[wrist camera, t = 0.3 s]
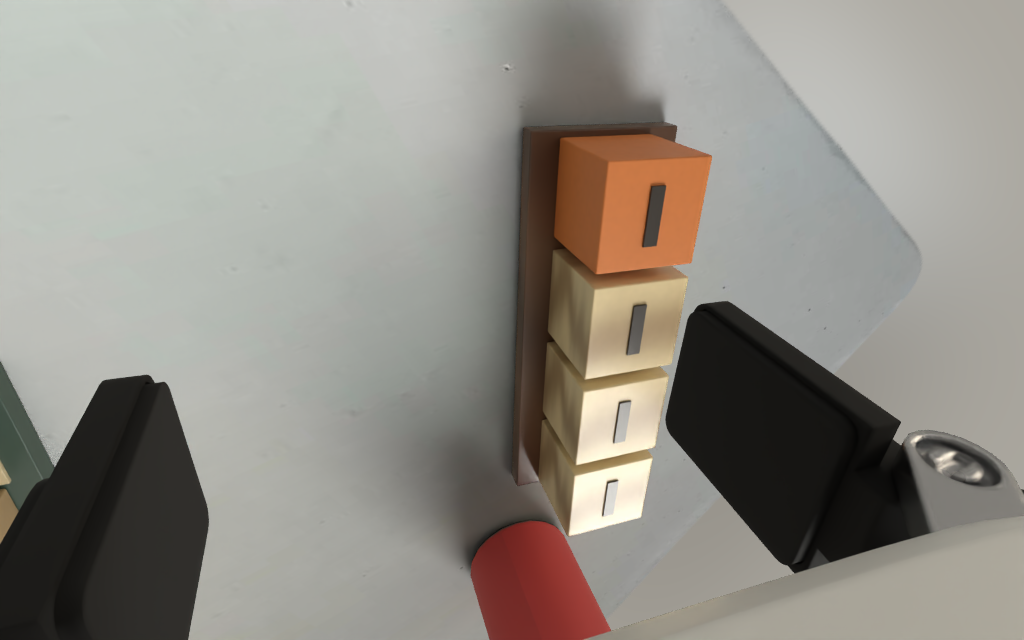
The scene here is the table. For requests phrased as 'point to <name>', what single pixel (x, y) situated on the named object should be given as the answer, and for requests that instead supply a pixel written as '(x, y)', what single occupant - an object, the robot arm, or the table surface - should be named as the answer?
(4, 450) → the slotted cube rack
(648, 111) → the table surface
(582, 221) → the orange slotted cube
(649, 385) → the slotted cubes on board
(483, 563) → the beer can
